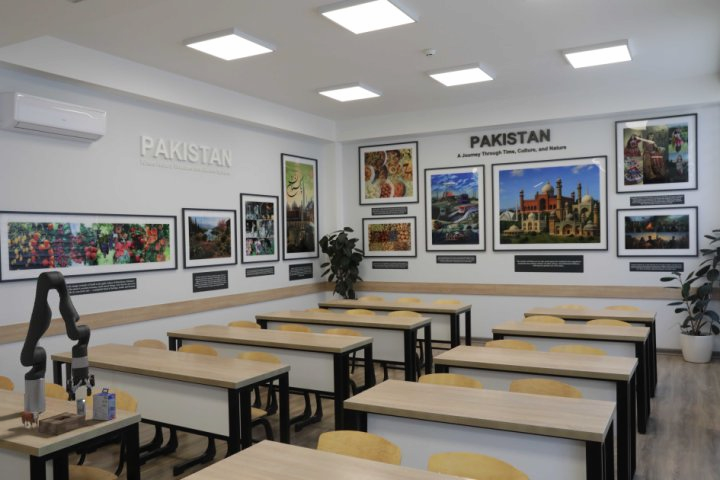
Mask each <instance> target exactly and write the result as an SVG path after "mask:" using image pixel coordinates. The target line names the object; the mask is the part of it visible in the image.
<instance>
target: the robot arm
mask: <svg viewBox="0 0 720 480" xmlns="http://www.w3.org/2000/svg"><path fill="white" fill-rule="evenodd" d="M50 290H55V291H56V292H57V293H58V297H59V304H58V311H59V313H60V316H61V318H62V320H63V322H64V324H65V325H64V326H65V330H66V332H65V333H66V335H67V337H68V339H69V340H70V341H73V342H75V341H77V343H76V344H74V345H72V347H71V375H72V379H67V380H66V384H65V386H66V387H65V391H66V393H69V395H70V400H71V401H73V402H75V401H76V400H77V399H76V391H77V389H79V388H81V387H84V386H85V388H86V396H87V397H91V396H92V388H93V387H95V386H96V380H95V374H91V373H90V371H89V370H90V369H89V368H90V366H89V355H88V354H89V353H88V348H89V347H88V346H89V342H90V339H91V328H90V326H88V325H87V324H80V325H76V324H77V322H79V321H80V320H81V319H80V315H79V313H78V311H77V309H76V308H75V305H74V303H73V301H72V298H71V294H70V291H69V288H68V286H67V281H66V278H65V277H64V275H63V273H62V272H61V271H59V270H53V271H43V272H40V273H39V275H38V277H37V281H36V288H35V298H34V302H33V307H32V312H31V314H30V320H29V325H28V330H27V333H26V337H25V340H24V343H23V346H22V348H21V351H20V356H19V360H20V363H21V366H22V367H25V368H29V367H32V368H31V369H29V371H27V372H26V373H24V393H23V400H24V402H23V403H24V404H23V407H24V410H23V411H28V412H38V413H39V412H41V413H43V412H46V408H47V407H46V372H47V352H46V349H45V348H44V346H37V345H38V343H39V341H40V339H42V337H43V336H44V335H45V333H46V332H47V331H48V330H49V328H50V324H51V321H52V316H53V312H52V309H51V305H50V304H49V302H48V297H49V296H48V295H49V292H50Z"/></svg>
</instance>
